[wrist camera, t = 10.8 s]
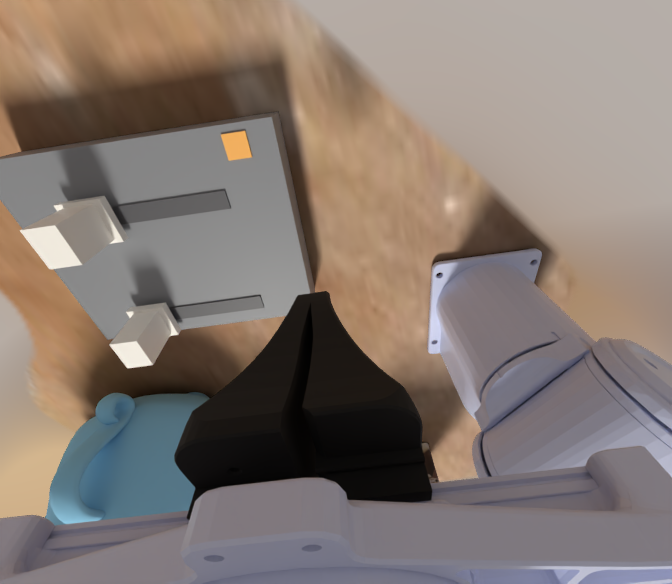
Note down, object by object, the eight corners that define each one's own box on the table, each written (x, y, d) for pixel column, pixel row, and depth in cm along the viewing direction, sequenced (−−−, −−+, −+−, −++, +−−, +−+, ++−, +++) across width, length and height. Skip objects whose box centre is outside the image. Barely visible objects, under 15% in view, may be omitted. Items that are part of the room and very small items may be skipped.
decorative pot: (214, 473, 40) (174, 627, 29) (77, 432, 33) (-43, 612, 22) (287, 412, 33) (273, 582, 22) (135, 347, 27) (5, 541, 15)
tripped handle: (128, 238, 17) (92, 267, 15) (87, 243, 17) (44, 274, 15) (104, 195, 16) (60, 219, 13) (60, 202, 16) (7, 227, 13)
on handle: (181, 329, 21) (161, 366, 19) (147, 334, 21) (122, 371, 19) (165, 302, 20) (141, 337, 17) (129, 307, 20) (100, 343, 17)
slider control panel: (314, 288, 24) (314, 312, 21) (128, 313, 24) (106, 340, 22) (278, 111, 17) (271, 117, 15) (20, 151, 18) (-30, 164, 15)
